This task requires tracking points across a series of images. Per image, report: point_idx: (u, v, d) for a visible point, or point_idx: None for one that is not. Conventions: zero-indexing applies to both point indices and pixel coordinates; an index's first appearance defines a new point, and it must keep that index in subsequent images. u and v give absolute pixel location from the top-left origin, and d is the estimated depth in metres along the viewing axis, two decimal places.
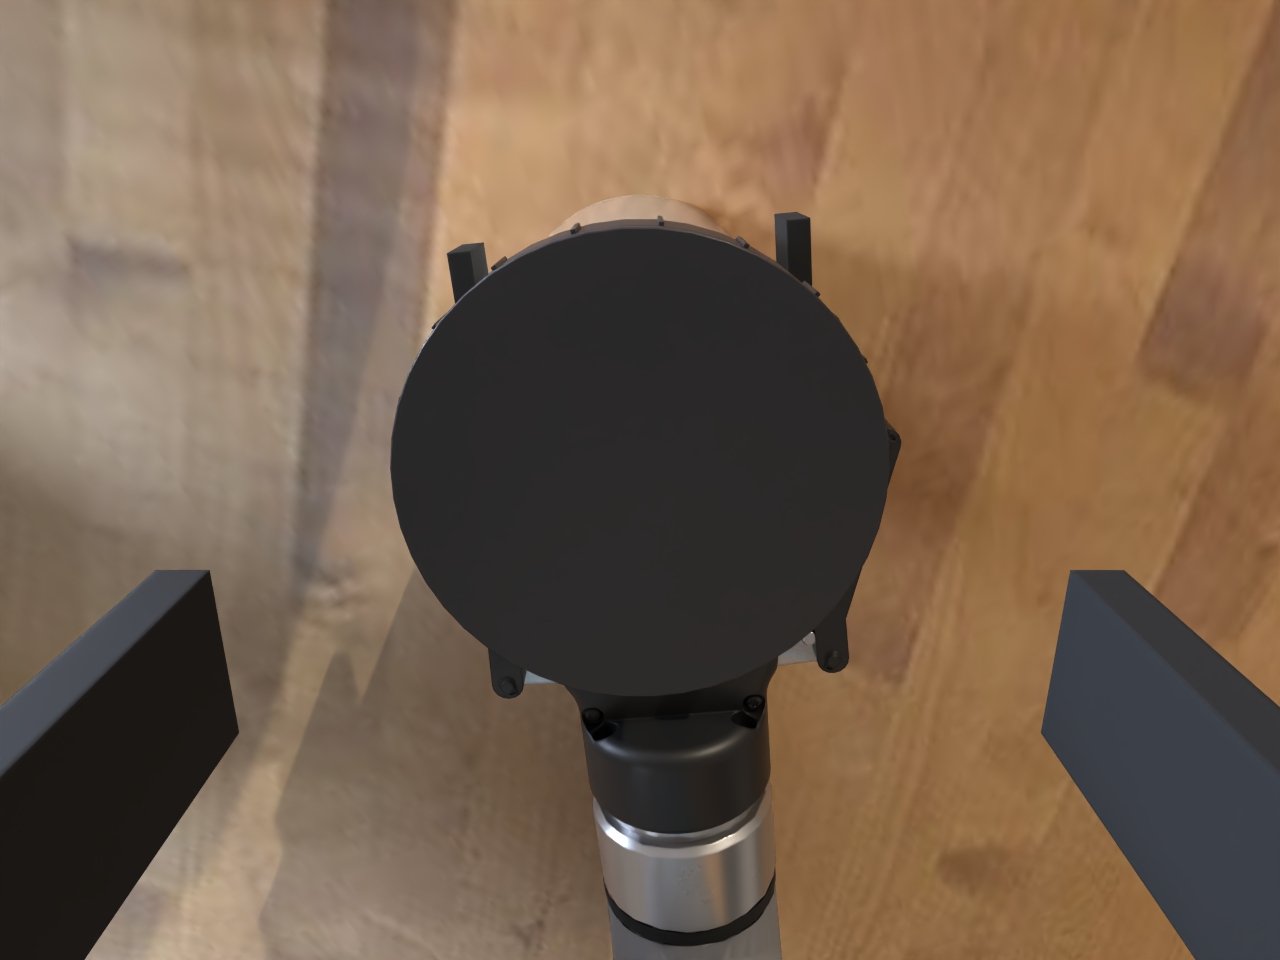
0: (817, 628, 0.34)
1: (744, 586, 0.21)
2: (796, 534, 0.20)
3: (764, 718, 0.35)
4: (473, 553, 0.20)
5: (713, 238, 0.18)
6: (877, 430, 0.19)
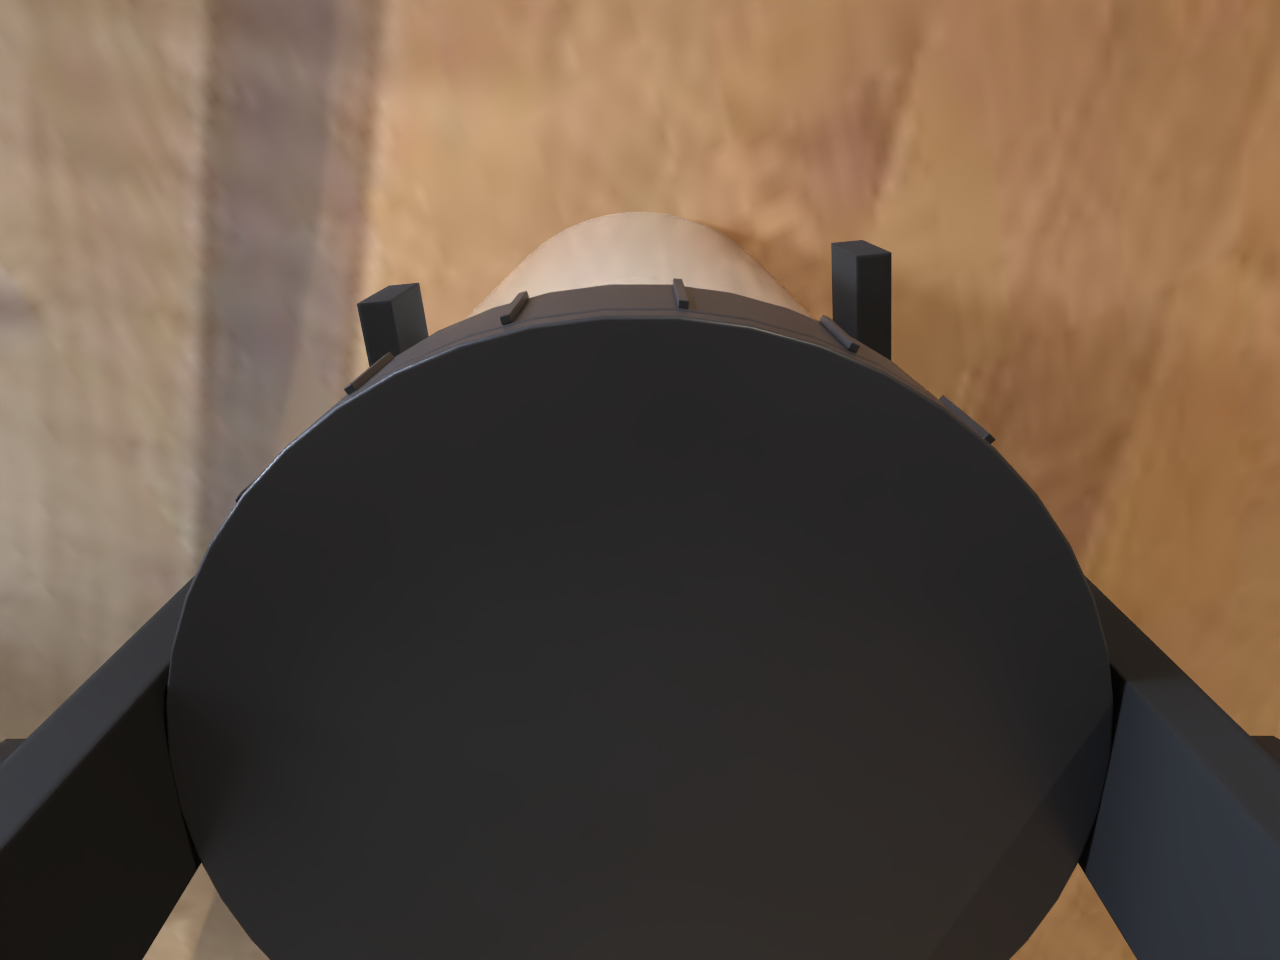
0: None
1: (829, 946, 0.11)
2: (929, 865, 0.11)
3: None
4: (334, 895, 0.11)
5: (791, 338, 0.09)
6: (1095, 692, 0.10)
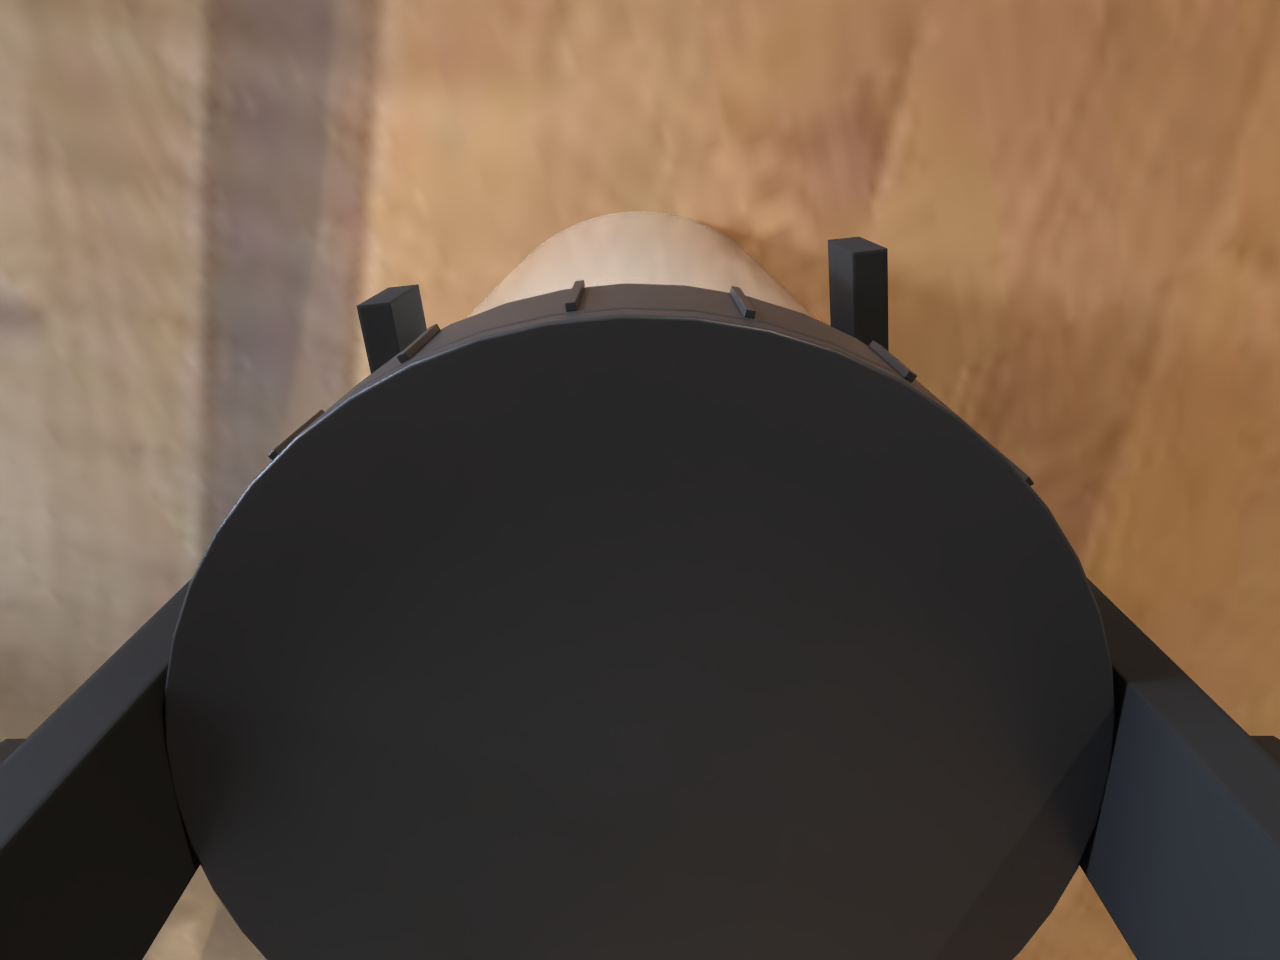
0: None
1: (701, 514, 0.09)
2: (536, 500, 0.09)
3: None
4: (924, 922, 0.11)
5: (225, 906, 0.11)
6: (255, 510, 0.09)
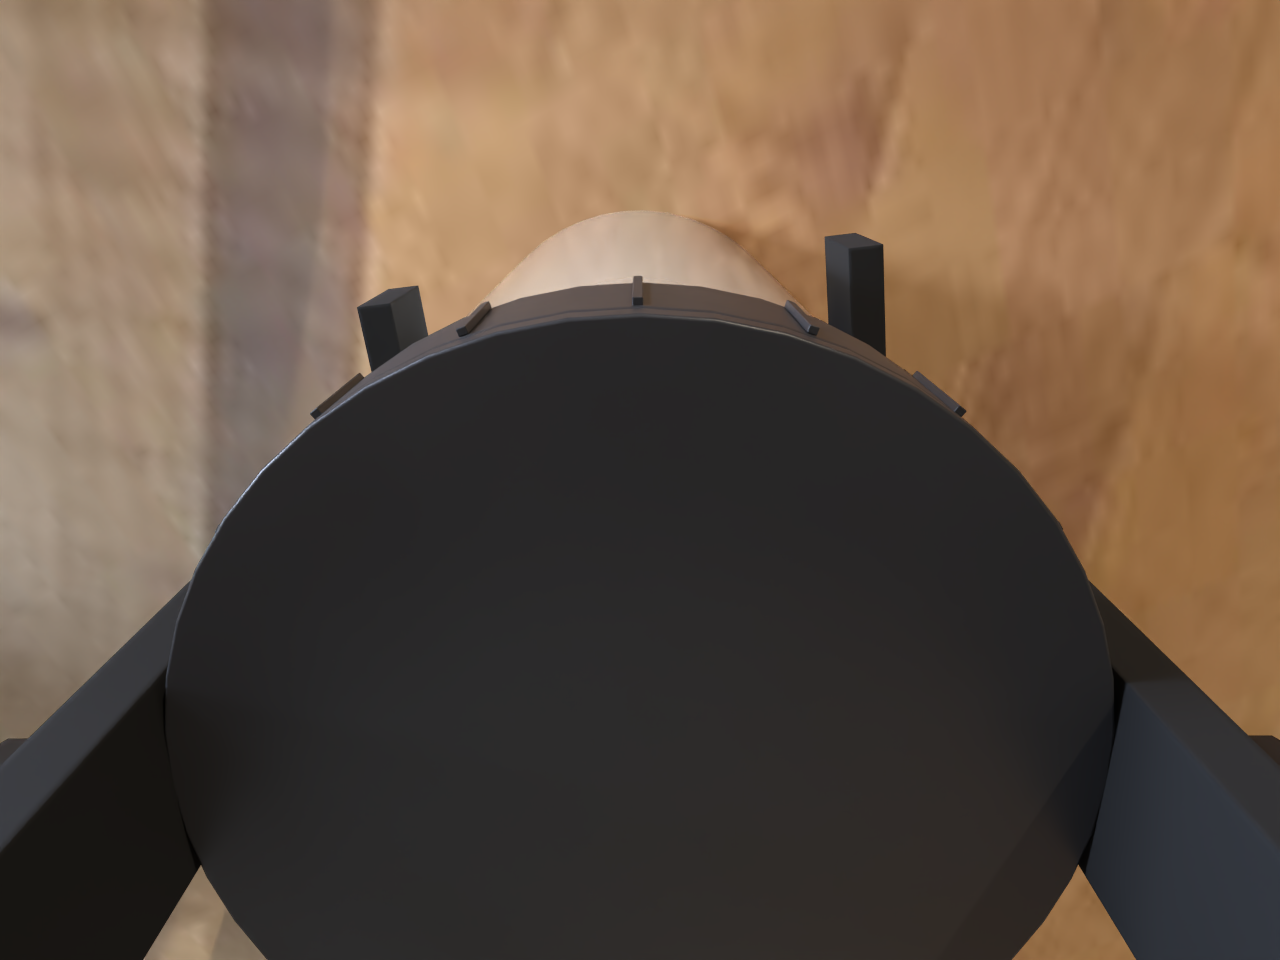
0: None
1: (382, 882, 0.11)
2: None
3: None
4: (603, 450, 0.09)
5: None
6: None
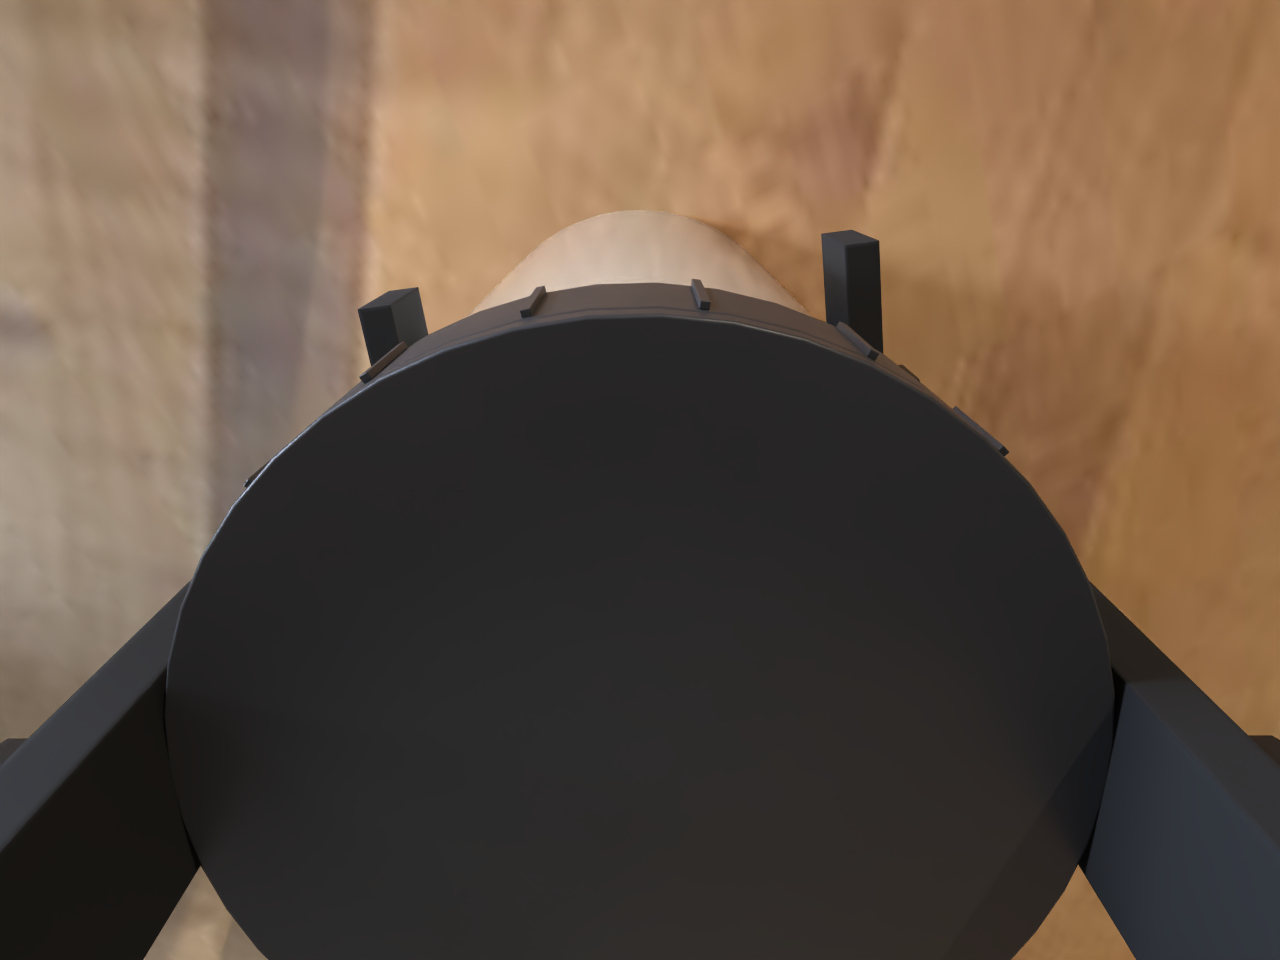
0: None
1: (885, 898, 0.11)
2: (956, 793, 0.11)
3: None
4: (393, 957, 0.11)
5: (630, 315, 0.09)
6: (1066, 578, 0.10)
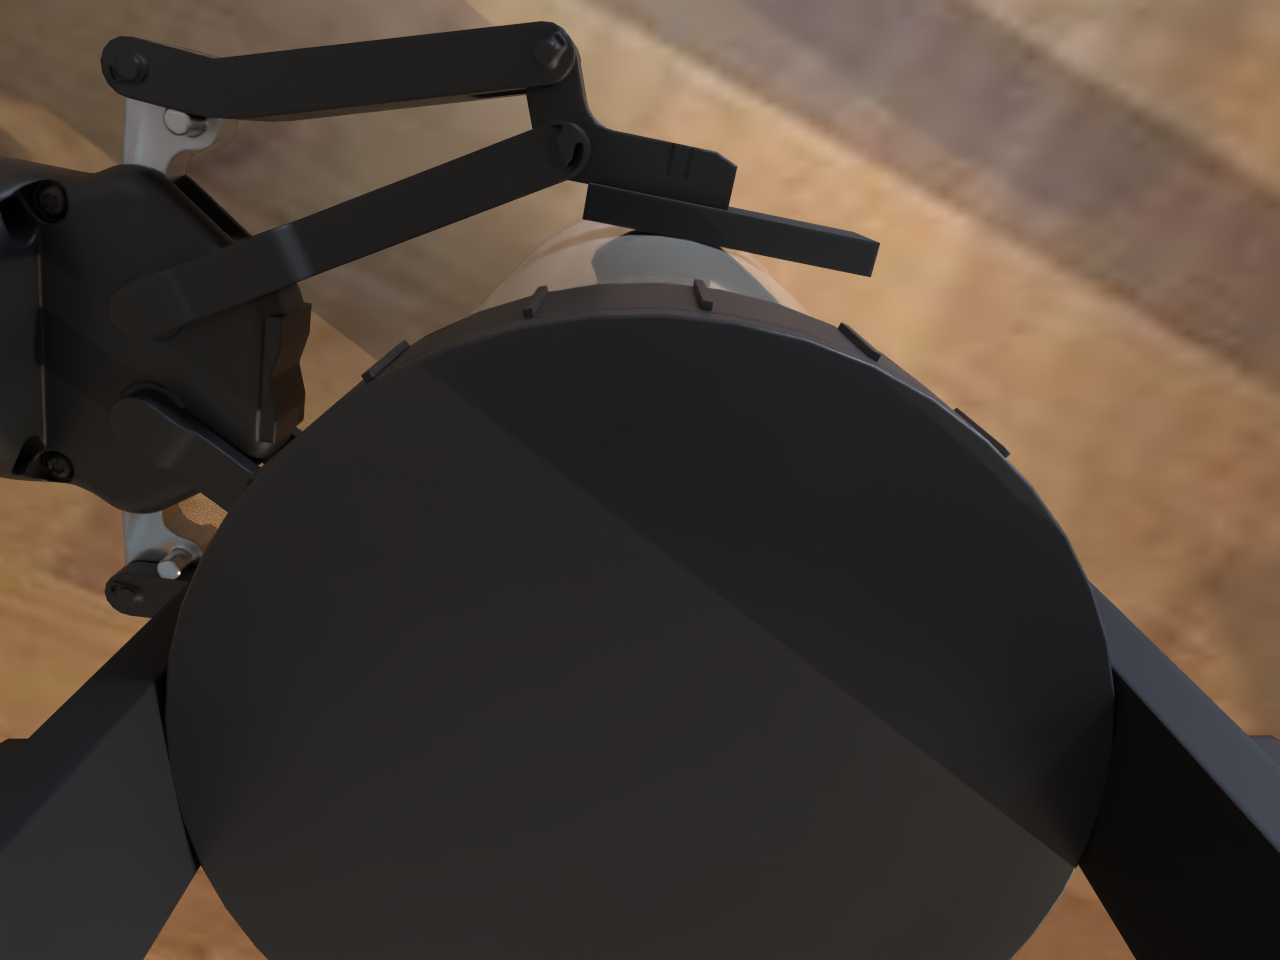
0: (184, 585, 0.23)
1: (884, 898, 0.11)
2: (956, 794, 0.11)
3: (27, 480, 0.22)
4: (392, 956, 0.11)
5: (632, 315, 0.09)
6: (1067, 580, 0.10)
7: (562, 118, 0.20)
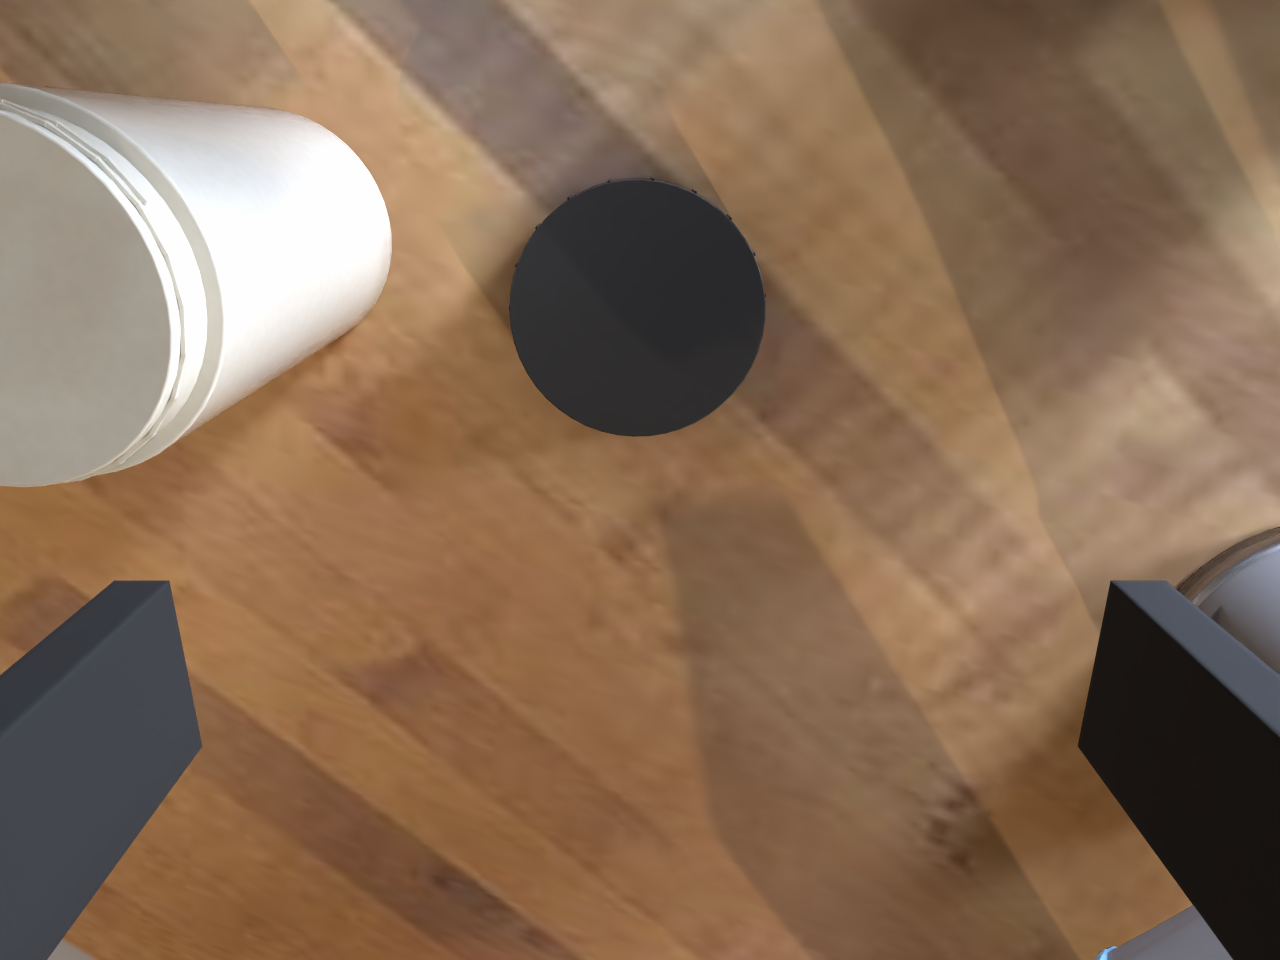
0: None
1: (707, 353, 0.39)
2: (724, 317, 0.39)
3: None
4: (566, 375, 0.39)
5: (635, 180, 0.37)
6: (746, 250, 0.38)
7: None
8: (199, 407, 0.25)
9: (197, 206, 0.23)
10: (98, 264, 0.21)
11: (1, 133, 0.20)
